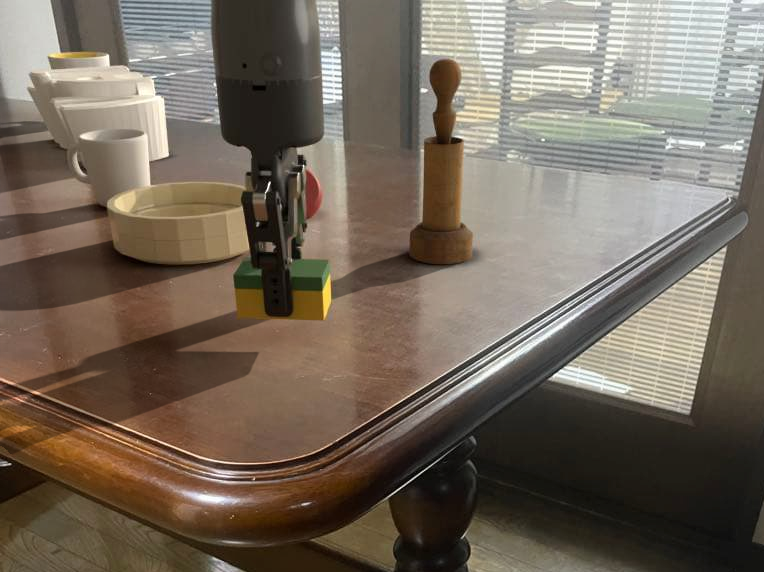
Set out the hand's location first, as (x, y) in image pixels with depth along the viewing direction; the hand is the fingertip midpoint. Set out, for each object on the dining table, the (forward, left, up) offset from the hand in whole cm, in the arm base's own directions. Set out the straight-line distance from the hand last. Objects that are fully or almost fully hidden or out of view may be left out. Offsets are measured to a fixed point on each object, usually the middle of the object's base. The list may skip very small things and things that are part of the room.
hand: (285, 303), depth 71 cm
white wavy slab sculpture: (-41, +74, -3) cm, 85 cm away
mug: (-54, +102, -3) cm, 115 cm away
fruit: (-6, +39, -3) cm, 39 cm away
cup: (-29, +42, -3) cm, 51 cm away
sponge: (0, 0, -1) cm, 1 cm away
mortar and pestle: (+12, +23, -3) cm, 26 cm away
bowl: (-15, +25, -3) cm, 29 cm away
